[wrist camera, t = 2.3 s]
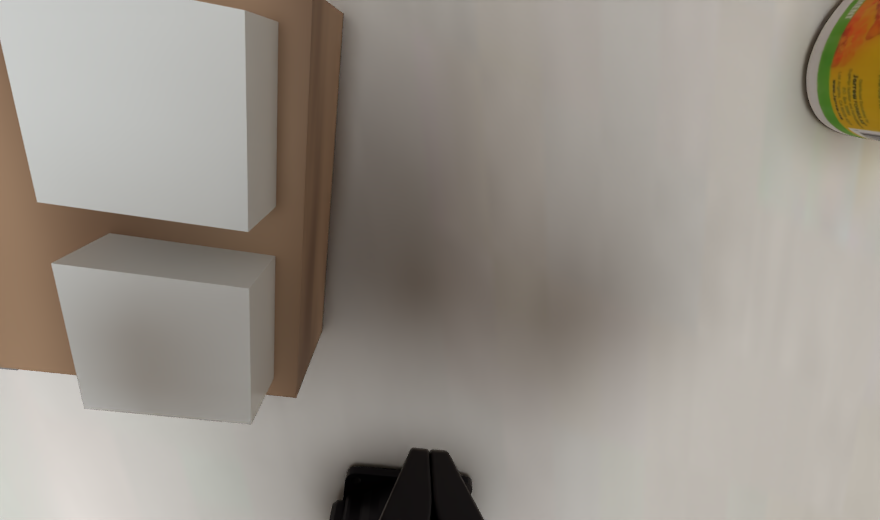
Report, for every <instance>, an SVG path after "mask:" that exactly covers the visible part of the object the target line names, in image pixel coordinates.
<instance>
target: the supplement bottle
mask: <svg viewBox="0 0 880 520" xmlns="http://www.w3.org/2000/svg"><path fill="white" fill-rule="evenodd" d="M806 87H807V94H808V99H809V102H810V105H811V107H812V109H813V111H814V113H815V115H816V116H817V117H818V119H819V120H820V121H821V122H822V123H824V124H825V125H826V126H828V127H829V128H831V129H833V130H835V131H837V132H839V133H842V134H845V135H850V136H855V137H860V138H865V139H871V140H878V141H880V0H844V1H843V2H842V3H841V4H840V5H839V6H838V8H837V9H836V10H835V11H834V12H833V14H832V15H831V17H830V18H829V19H828V21H827V23H826V24H825V26H824V27H823V29H822V31H821V33H820V35H819V36H818V38H817V41H816V43H815V45H814V48H813V50H812V53H811V56H810V59H809V63H808V68H807V75H806Z"/></svg>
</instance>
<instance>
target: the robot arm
mask: <svg viewBox="0 0 880 520" xmlns="http://www.w3.org/2000/svg"><path fill="white" fill-rule="evenodd" d="M471 493H472V481H471V479H470V478H469V477H467V476H461V475H460V473H459V472H458V470H457V468H456V466H455V464H454V462H453V460H452V458H451V456H450V455H449V453H448V452H447V451H444V450H434V449H432V450H430V451H428V449H423V448H412V449H411V450H410V451H409V454H408V456H407V458H406V460H405V463H404V465H403V467H402V469H401V470H392V469H381V468H369V467H358V466H357V467H351V468H350V469H348V471H347V474H346V479H345V488H344V497H343V500H337V501H336V502H335V503H334V504H333V506H332V511H331V516H330V520H484V519H483V517H482V515H481V513H480V511H479V509H478V508H477V506H476V504H475V502H474V500H473V498H472V496H471Z"/></svg>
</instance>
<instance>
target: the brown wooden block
mask: <svg viewBox="0 0 880 520" xmlns="http://www.w3.org/2000/svg"><path fill="white" fill-rule="evenodd" d="M195 1H200V2H206V3H211V4H216V5H221V6H226V7H231V8H236V9H241V10H246V11H249V12H251V13H254V14H257V15H260V16H263V17H266V18H269V19H271V20H274V21H277V22H278V93H277V171H276V207H275V208H274V209H273V210H272V211H271V212H270V213H269V214H267V215H266V216H265V217H264V218H263V219H262V220H261V221H260V222H259V223H258V224H257V225H255V226H254V227H253V228H252V229H251V230H250V231H249V232H244V231H237V230H230V229H223V228H216V227H209V226H202V225H195V224H188V223H181V222H174V221H167V220H160V219H153V218H146V217H139V216H132V215H125V214H117V213H110V212H103V211H96V210H89V209H82V208H75V207H68V206H61V205H54V204H47V203H40V202H37V199H36V195H35V191H34V186H33V182H32V177H31V173H30V169H29V164H28V160H27V155H26V151H25V147H24V142H23V138H22V133H21V129H20V125H19V120H18V116H17V112H16V107H15V103H14V98H13V94H12V90H11V85H10V81H9V76H8V72H7V68H6V63H5V59H4V54H3V50H2V46H1V41H0V367H2V368H12V369H22V370H31V371H41V372H51V373H60V374H70V375H76V370H75V366H74V362H73V357H72V353H71V348H70V344H69V340H68V335H67V331H66V327H65V322H64V318H63V313H62V309H61V305H60V300H59V296H58V291H57V287H56V283H55V278H54V274H53V269H52V265H51V263H53V262H54V261H56V260H58V259H60V258H62V257H64V256H66V255H68V254H70V253H72V252H74V251H76V250H78V249H80V248H82V247H84V246H86V245H88V244H89V243H91V242H93V241H95V240H97V239H99V238H101V237H103V236H105V235H107V234H109V233H112V234H119V235H127V236H134V237H141V238H148V239H156V240H163V241H170V242H178V243H185V244H192V245H200V246H207V247H214V248H221V249H229V250H236V251H243V252H251V253H258V254H265V255H272V256H275V327H274V379H273V381H272V383H271V385H270V387H269V389H268V391H267V393H266V395H274V396H284V397H293V398H296V397H297V394H298V392H299V389H300V387H301V384H302V381H303V379H304V376H305V374H306V371H307V369H308V366H309V363H310V361H311V358H312V356H313V353H314V351H315V348H316V345H317V343H318V340H319V338H320V335H321V332H322V323H323V308H324V294H325V279H326V264H327V249H328V235H329V220H330V205H331V190H332V176H333V161H334V146H335V131H336V117H337V102H338V87H339V72H340V58H341V43H342V28H343V13H342V12H340V11H339V10H338V9H336V8H335V7H334V6H332V5H331V4H330V3H328V2H327V1H326V0H195Z"/></svg>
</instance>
